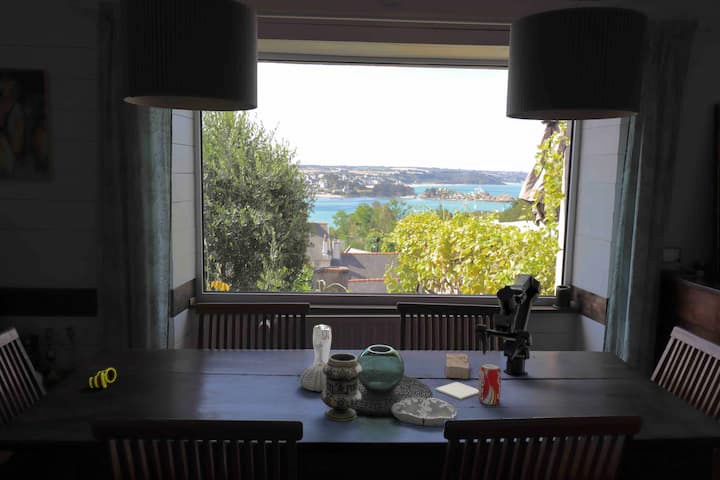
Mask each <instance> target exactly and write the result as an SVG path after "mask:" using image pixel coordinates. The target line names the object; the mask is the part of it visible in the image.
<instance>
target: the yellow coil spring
mask: <svg viewBox="0 0 720 480" xmlns="http://www.w3.org/2000/svg"><path fill="white" fill-rule="evenodd" d="M116 378H117V371H116V369H115V368H114V367H108V368H107V369H104V370H101V371H97V373H96V375H95V376H93V377H90V378H89V387H90V388H91V389H94V388H97V389H98V388H99V389H100V388H103V389H105V388H107V383H109V384H112V383H113V382H114V381H115V380H116Z"/></svg>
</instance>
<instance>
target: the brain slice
mask: <svg viewBox="0 0 720 480" xmlns="http://www.w3.org/2000/svg"><path fill="white" fill-rule="evenodd" d="M391 413H392V414H393V416H394V417H395V418H396V419H398V420H399V421H401V422H405V423H409V424H413V425H417V426H418V425H419V426H425V427H426V426H427V427H436V426H437V427H442V426H443V425H444V421H445V420H452V419H454V420H456V417H457V416H458V415H457V413H458V408H457V407H455V406H453V405H452V404H449V402H447V401H445V400H443V399H440V398H436V397H427V398H425V397H423V396H412V397H406V398H404V399H401V400H399V401H397V402H395V403H393V404H392V405H391Z"/></svg>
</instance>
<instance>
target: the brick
mask: <svg viewBox="0 0 720 480" xmlns="http://www.w3.org/2000/svg"><path fill="white" fill-rule="evenodd" d="M469 373H470V365H469V355H468V354H465V353H446V355H445V376H446V377H447V378H455V379H466V380H467V379H469V376H470V374H469Z"/></svg>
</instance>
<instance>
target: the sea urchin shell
mask: <svg viewBox="0 0 720 480" xmlns="http://www.w3.org/2000/svg"><path fill="white" fill-rule="evenodd" d="M324 365H325V364H318V363H317V364H314V363H313V364H312V365H310V366H308V367H307V368H305V370H303V372H302V373H301V375H300V378H299V383H300V385H301V386H302V388H304V389H306V390H309V391H312V392H314V391H315V392H323V391H324V389H326V376H325V375H324V373H323V366H324Z"/></svg>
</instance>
